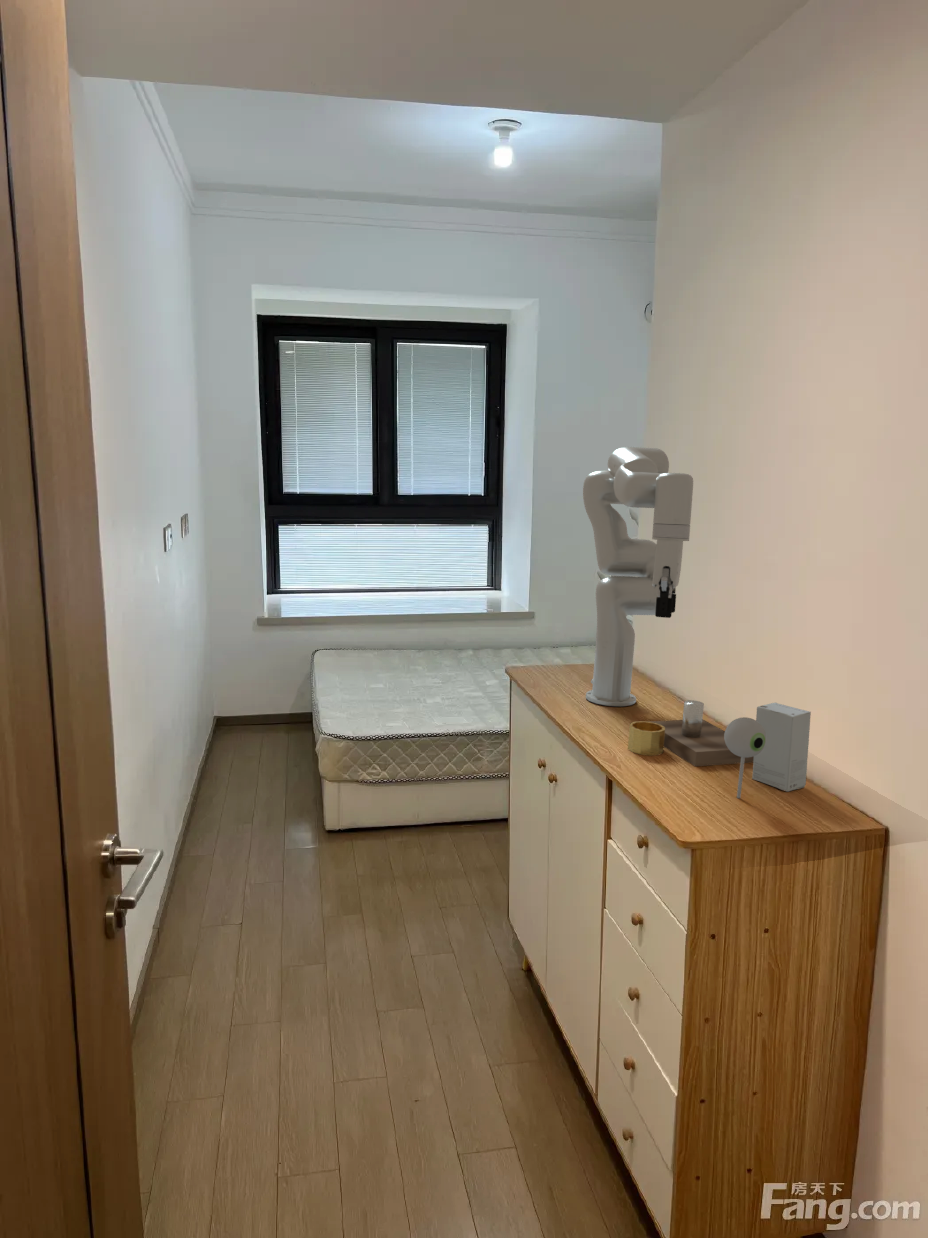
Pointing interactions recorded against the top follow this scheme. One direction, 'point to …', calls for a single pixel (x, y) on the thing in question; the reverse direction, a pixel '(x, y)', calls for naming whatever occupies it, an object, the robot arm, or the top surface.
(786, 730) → the skincare box
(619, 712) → the top surface
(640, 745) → the brass ring
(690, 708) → the piston post
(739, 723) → the lollipop
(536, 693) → the top surface
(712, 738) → the walnut stand
